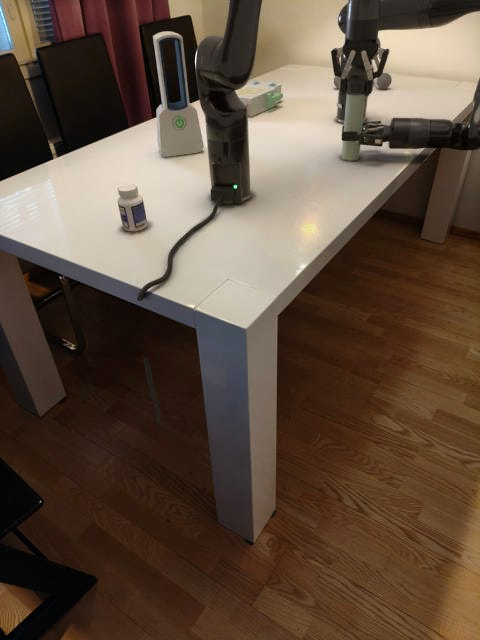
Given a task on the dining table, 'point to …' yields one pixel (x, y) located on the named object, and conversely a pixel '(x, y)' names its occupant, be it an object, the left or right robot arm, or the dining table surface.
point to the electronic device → (176, 106)
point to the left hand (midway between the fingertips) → (356, 94)
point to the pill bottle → (131, 208)
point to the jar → (353, 124)
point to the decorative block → (260, 96)
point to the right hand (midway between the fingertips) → (342, 133)
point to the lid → (356, 86)
